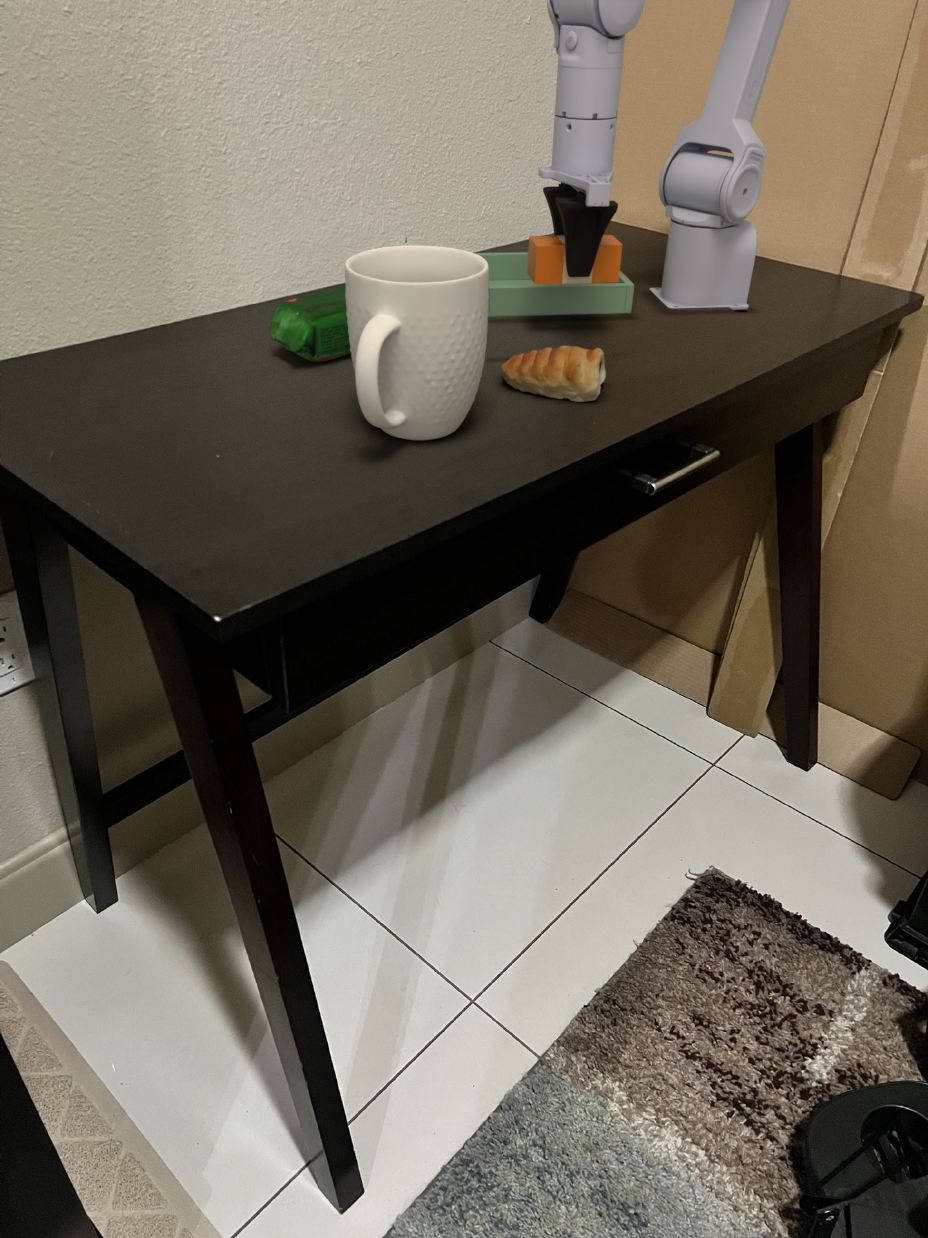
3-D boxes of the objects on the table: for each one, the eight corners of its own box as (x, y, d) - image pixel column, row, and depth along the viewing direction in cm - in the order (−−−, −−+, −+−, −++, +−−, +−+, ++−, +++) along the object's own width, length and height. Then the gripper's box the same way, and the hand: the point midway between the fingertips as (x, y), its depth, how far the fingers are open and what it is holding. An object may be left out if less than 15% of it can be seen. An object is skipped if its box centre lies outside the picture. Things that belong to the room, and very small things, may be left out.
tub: (598, 281, 113) (601, 250, 111) (630, 318, 102) (634, 284, 100) (464, 284, 112) (464, 252, 109) (481, 321, 100) (482, 287, 98)
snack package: (429, 340, 95) (429, 287, 92) (300, 373, 86) (295, 317, 83) (387, 323, 99) (386, 273, 96) (260, 354, 90) (254, 299, 88)
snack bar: (608, 271, 95) (612, 234, 93) (618, 282, 92) (622, 244, 89) (527, 273, 94) (529, 235, 92) (534, 284, 91) (536, 245, 88)
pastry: (494, 395, 83) (496, 353, 80) (507, 369, 88) (509, 329, 86) (599, 405, 81) (604, 362, 79) (606, 378, 87) (610, 338, 84)
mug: (436, 484, 68) (435, 305, 61) (305, 458, 71) (289, 285, 64) (503, 411, 80) (509, 253, 72) (388, 392, 83) (382, 238, 75)
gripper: (528, 105, 90) (521, 251, 98) (559, 126, 78) (548, 290, 86) (598, 105, 91) (586, 250, 98) (640, 126, 79) (622, 289, 87)
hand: (573, 269), depth 92 cm, fingers closed on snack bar, 4 cm apart
